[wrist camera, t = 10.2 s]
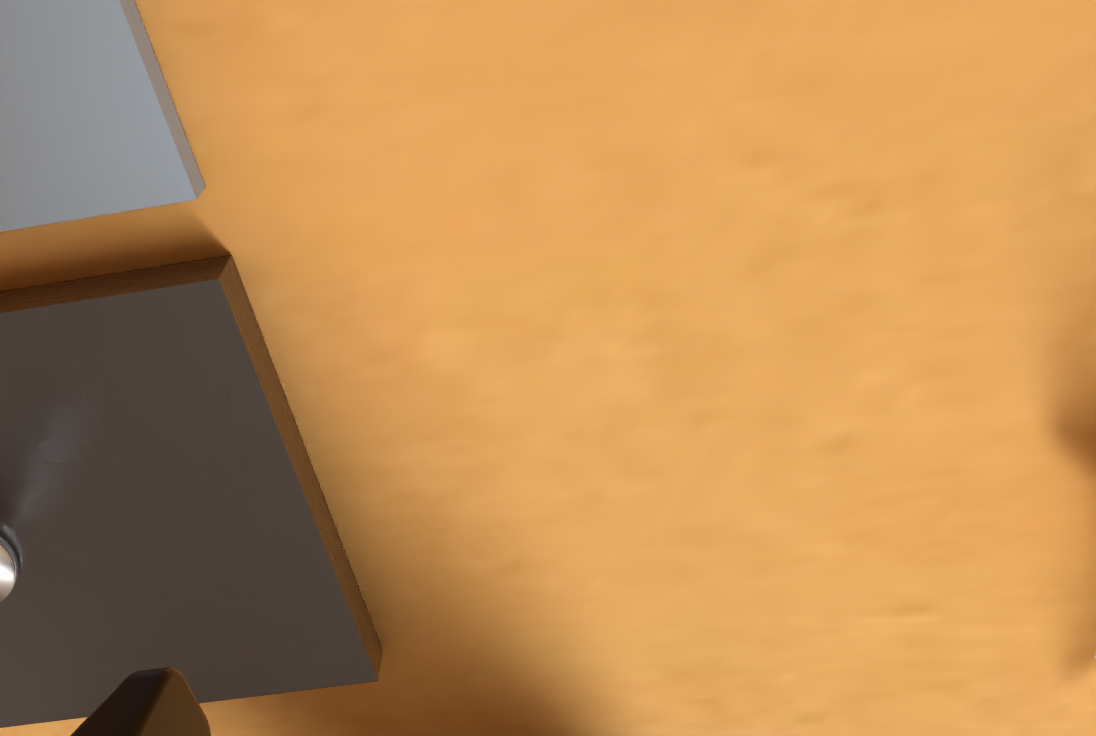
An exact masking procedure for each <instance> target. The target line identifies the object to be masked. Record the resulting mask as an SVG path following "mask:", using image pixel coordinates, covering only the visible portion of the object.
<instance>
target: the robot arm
mask: <svg viewBox="0 0 1096 736" xmlns="http://www.w3.org/2000/svg"><path fill="white" fill-rule="evenodd" d="M71 736H211V733H210V727H209V723H208V720H207V718H206V716H205V714H204V712H203V710H202V709H201V707H200V705H199V703H198V701H197V700H196V698H195V696H194V694H193V692H192V691H191V689H190V687H189V685H188V683H187V682H186V680H185V678H184V676H183V675H182V673H181V672H180V671H178V670H177V669H175V668H172V667H165V668H157V669H149V670H141V671H137V672H134V673H132V674H130V675H129V676H128V677H126V678H125V679H124V680H123V681H122V682H121V683H120V684H119V685H118V686H117V687H116V688H115V689H114V690H113V692H112V693H111V694H110V695H109V696H108V697H107V698H106V699H105V700H104V701H103V702H102V703H101V704H100V705H99V706H98V707H97V708H96V709H95V710H94V711H93V713H92V714H91V715H90V716H89V717H88V718H87V719H86V720H85V721H84V722H83V723H82V724H81V725H80V726H79V727H78V728H77V729H76V730H75V731H74V733H73V734H72V735H71Z"/></svg>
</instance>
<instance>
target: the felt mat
mask: <svg viewBox="0 0 1096 736" xmlns="http://www.w3.org/2000/svg"><path fill="white" fill-rule="evenodd" d="M204 188H205V184H204V182H203V179H202V177H201V174H200V171H199V169H198V166H197V163H196V161H195V158H194V156H193V153H192V150H191V148H190V145H189V143H188V140H187V137H186V135H185V132H184V129H183V127H182V124H181V122H180V119H179V116H178V114H177V111H176V108H175V106H174V103H173V101H172V98H171V95H170V93H169V90H168V88H167V85H166V82H165V80H164V77H163V74H162V72H161V69H160V67H159V64H158V61H157V59H156V56H155V53H154V51H153V48H152V46H151V43H150V40H149V38H148V35H147V33H146V30H145V27H144V25H143V22H142V19H141V17H140V14H139V12H138V9H137V6H136V4H135V1H134V0H0V232H3V231H10V230H16V229H22V228H28V227H34V226H40V225H46V224H52V223H58V222H64V221H70V220H76V219H82V218H89V217H95V216H101V215H107V214H113V213H119V212H125V211H131V210H137V209H143V208H149V207H155V206H162V205H168V204H174V203H180V202H186V201H192V200H197V199H198V197H199V196H200V194H201V193H202V191H203V190H204Z"/></svg>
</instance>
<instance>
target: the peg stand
mask: <svg viewBox="0 0 1096 736" xmlns="http://www.w3.org/2000/svg"><path fill="white" fill-rule="evenodd" d="M381 657H382V648H381V645H380V643H379V640H378V638H377V635H376V632H375V630H374V627H373V625H372V622H371V619H370V617H369V614H368V611H367V609H366V606H365V604H364V601H363V598H362V596H361V593H360V590H359V588H358V585H357V583H356V580H355V577H354V575H353V572H352V569H351V567H350V564H349V562H348V559H347V556H346V554H345V551H344V549H343V546H342V543H341V541H340V538H339V535H338V533H337V530H336V528H335V525H334V522H333V520H332V517H331V514H330V512H329V509H328V507H327V504H326V501H325V499H324V496H323V494H322V491H321V488H320V486H319V483H318V480H317V478H316V475H315V473H314V470H313V467H312V465H311V462H310V459H309V457H308V454H307V452H306V449H305V446H304V444H303V441H302V439H301V436H300V433H299V431H298V428H297V425H296V423H295V420H294V418H293V415H292V412H291V410H290V407H289V404H288V402H287V399H286V397H285V394H284V391H283V389H282V386H281V384H280V381H279V378H278V376H277V373H276V370H275V368H274V365H273V363H272V360H271V357H270V355H269V352H268V349H267V347H266V344H265V342H264V339H263V336H262V334H261V331H260V329H259V326H258V323H257V321H256V318H255V315H254V313H253V310H252V308H251V305H250V302H249V300H248V297H247V294H246V292H245V289H244V287H243V284H242V281H241V279H240V276H239V273H238V271H237V268H236V266H235V263H234V260H233V258H232V255H229V256H222V257H216V258H210V259H204V260H197V261H191V262H185V263H179V264H172V265H166V266H160V267H154V268H147V269H141V270H135V271H128V272H122V273H116V274H110V275H103V276H97V277H91V278H85V279H78V280H72V281H66V282H59V283H53V284H47V285H41V286H34V287H28V288H22V289H16V290H9V291H3V292H0V728H2V727H10V726H19V725H27V724H35V723H43V722H51V721H59V720H67V719H75V718H83V717H89V716H90V715H91V714H92V713H93V711H94V710H95V709H96V708H97V707H98V706H99V705H100V704H101V703H102V702H103V701H104V700H105V699H106V698H107V697H108V696H109V695H110V694H111V693H112V692H113V690H114V689H115V688H116V687H117V686H118V685H119V684H120V683H121V682H122V681H123V680H124V679H125V678H126V677H128V676H129V675H130V674H132V673H134V672H137V671H141V670H149V669H157V668H165V667H172V668H175V669H177V670H178V671H180V672H181V673H182V675H183V676H184V678H185V680H186V682H187V683H188V685H189V687H190V689H191V691H192V692H193V694H194V696H195V698H196V700H197V701H198V703H205V702H213V701H221V700H229V699H237V698H245V697H253V696H262V695H270V694H278V693H286V692H294V691H302V690H310V689H318V688H326V687H334V686H343V685H351V684H359V683H367V682H375V681H378V677H379V670H380V664H381Z"/></svg>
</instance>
